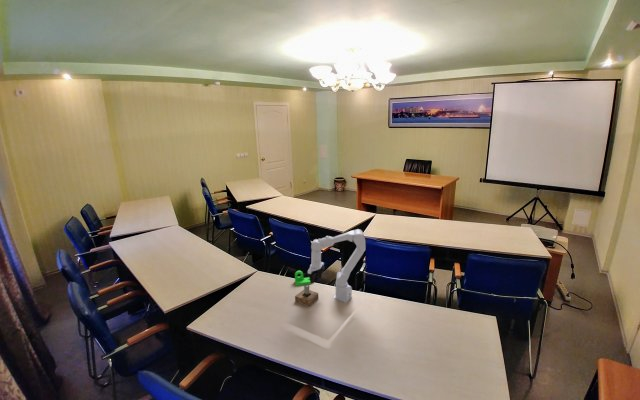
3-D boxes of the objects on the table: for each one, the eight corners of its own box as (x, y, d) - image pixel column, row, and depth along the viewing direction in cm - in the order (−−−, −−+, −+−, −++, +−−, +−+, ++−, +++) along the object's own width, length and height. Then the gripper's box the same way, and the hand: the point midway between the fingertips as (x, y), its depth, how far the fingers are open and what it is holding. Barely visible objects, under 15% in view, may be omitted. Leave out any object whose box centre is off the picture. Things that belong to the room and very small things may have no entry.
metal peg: (310, 299, 172) (310, 285, 170) (307, 301, 169) (307, 288, 167) (306, 297, 173) (306, 284, 172) (303, 300, 171) (303, 286, 169)
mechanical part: (296, 286, 188) (295, 275, 186) (295, 281, 194) (294, 270, 192) (314, 283, 191) (313, 272, 189) (312, 279, 196) (312, 268, 195)
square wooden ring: (318, 298, 173) (318, 293, 172) (308, 306, 165) (308, 300, 164) (305, 293, 178) (304, 288, 177) (295, 301, 170) (295, 296, 169)
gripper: (317, 254, 179) (316, 273, 182) (303, 262, 167) (303, 283, 170) (326, 256, 175) (326, 277, 178) (313, 265, 163) (313, 286, 166)
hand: (315, 280), depth 173 cm, fingers open, 7 cm apart
